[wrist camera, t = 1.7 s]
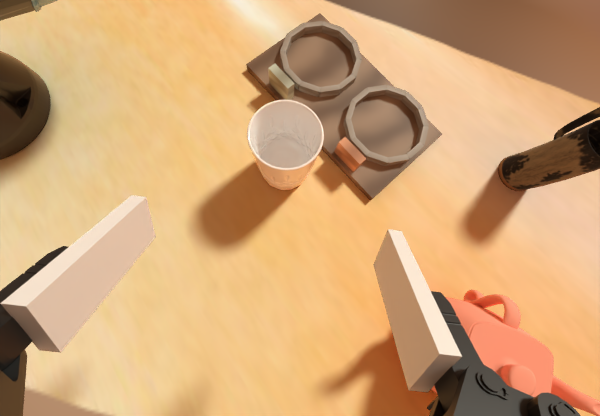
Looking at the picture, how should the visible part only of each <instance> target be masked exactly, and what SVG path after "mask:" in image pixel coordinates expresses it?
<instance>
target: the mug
mask: <svg viewBox="0 0 600 416" xmlns="http://www.w3.org/2000/svg"><path fill="white" fill-rule="evenodd" d="M598 117H600V107H599V108H597V109H595V110H593V111H591V112H589V113H587V114H585V115H583V116H582V117H580V118H578V119H576V120H574V121H572V122H571V123H569V124H567V125H566V126H564V127H563V128H561V129H560V130H558V131H557V132H556V134H555V135H554V140H552V141H550V142H548V143H545V144H543V145H540V146H537V147H535V148H532V149H530V150H527V151H524V152H521V153H518V154H515V155H512V156H509V157H507V158H505V159H503V160H502V161H501V163H500V165H499V169H498V171H499V176H500V179H501V180H502V182H503V183H504V184H505V185H506V186H507V187H508V188H510V189H512V190H515V191H522V190H526V189H530V188H535V187H540V186H544V185H548V184H551V183H555V182H559V181H563V180H566V179H569V178H573V177H576V176H579V175H582V174H585V173H588V172H592V171H595V170H598V169H600V120H597V121H595V122H593V123H590V124H588V125H586V126H584V127H582V128H580V129H578V130H576V131H574V132H571V133H569V134H566V133H567V132H569V131H571V130H573V129H575V128H577V127H579V126H581V125H583V124H585V123H587V122H589V121H591V120H594V119H596V118H598ZM564 134H566V135H564ZM563 135H564V136H563Z"/></svg>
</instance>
